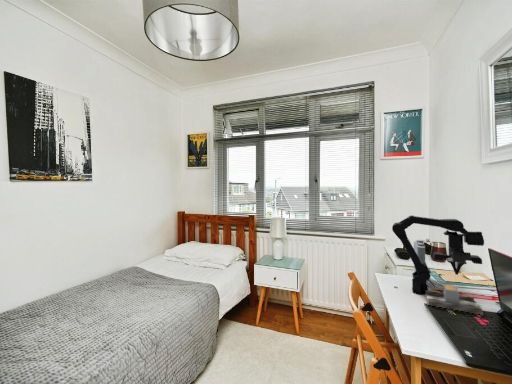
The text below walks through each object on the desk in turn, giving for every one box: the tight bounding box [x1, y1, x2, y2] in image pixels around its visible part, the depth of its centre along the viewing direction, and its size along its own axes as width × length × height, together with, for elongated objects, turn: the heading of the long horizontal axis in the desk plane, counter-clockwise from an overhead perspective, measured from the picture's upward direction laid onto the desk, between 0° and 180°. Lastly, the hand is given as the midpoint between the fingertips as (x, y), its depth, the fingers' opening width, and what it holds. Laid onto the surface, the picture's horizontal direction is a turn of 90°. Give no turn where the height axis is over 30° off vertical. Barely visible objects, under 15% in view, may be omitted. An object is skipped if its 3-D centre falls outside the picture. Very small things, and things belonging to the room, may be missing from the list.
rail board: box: [424, 289, 484, 316], centre depth 115 cm, size 20×13×3 cm, turn 60°
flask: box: [413, 239, 426, 273], centre depth 144 cm, size 17×5×25 cm, turn 153°
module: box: [442, 284, 460, 305], centre depth 115 cm, size 5×7×6 cm
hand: (456, 274), depth 121 cm, fingers closed
